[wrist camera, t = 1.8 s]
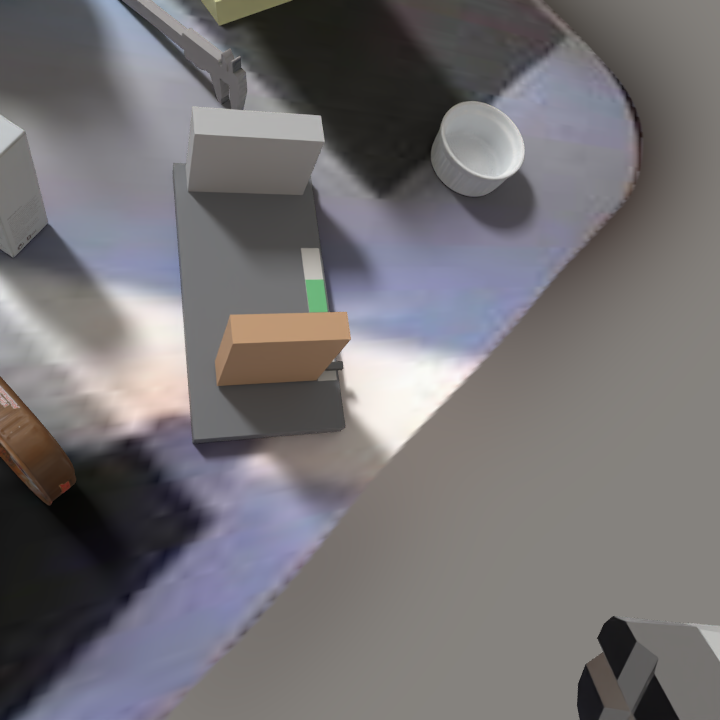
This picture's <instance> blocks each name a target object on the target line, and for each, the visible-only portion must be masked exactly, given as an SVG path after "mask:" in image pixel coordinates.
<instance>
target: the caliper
mask: <svg viewBox="0 0 720 720" xmlns="http://www.w3.org/2000/svg"><path fill="white" fill-rule="evenodd" d="M122 1H123V2H125V3H126V4H127V5H128V6H130V7H131V8H132V9H134V10H135V11H136V12H137V13H139V14H140V15H141V16H142V17H144V18H145V19H146V20H147V21H149V22H150V23H151V24H152V25H154V26H155V27H156V28H157V29H158V30H160V31H161V32H162V33H163V34H165V35H166V36H167V37H168V38H170V39H171V40H172V41H173V42H175V43H176V44H177V45H178V46H180V47H181V48H182V49H183V50H184V55H185V58H186V59H187V60H189V61H191V62H193V63H194V65H195V66H196V67H198V68H200V69H202V70H206V71H207V72H208V73H210V76H211V79H212V83H213V86H214V90H215V93H216V97H217V100H218V101H219V102H220V103H221V104H223V103H224V102H226V101H228V100H229V91H230V102H231V109H235V110H243V108H244V104H245V99H246V94H247V82H246V72H245V71H244V70H243V69H242V68H241V57H240V56H239V57H237V58H236V59H234V57H233V54H232V51H231V49H228V50H226V51H225V52H221V51H220V50H219V49H218V48H216V47H215V46H214V45H212V44H211V43H210V42H208V41H207V40H206V39H205V38H203V37H202V36H201V35H199V34H198V33H197V32H196V31H194V30H193V29H192V28H190V29H187V28H186V27H184V26H183V25H182V24H181V23H179V22H178V21H177V20H175V19H174V18H173V17H172V16H170V15H169V14H168V13H167V12H165V11H164V10H163V9H162V8H160V7H159V6H158V5H157V4H155V3H154V2H153V1H152V0H122Z"/></svg>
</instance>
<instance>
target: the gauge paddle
mask: <svg viewBox="0 0 720 720" xmlns="http://www.w3.org/2000/svg"><path fill="white" fill-rule="evenodd" d="M350 340H351V337H350V330H349V323H348V316H347V312H320V313H279V314H239V315H230V317H229V320H228V323H227V326H226V329H225V332H224V335H223V338H222V341H221V344H220V347H219V350H218V353H217V356H216V359H215V370H216V382H217V386H227V385H244V384H261V383H279V382H296V381H314V380H317V379H318V378H319V377H320V375H321V374H322V373H323V372H324V371H333V370H342V369H343V362H342V361H338V362H332V361H333V360H334V359H335V357H336V356H337V355H338V354H339V353H340V351H341V350H342V349H343V348H344V347H345V346H346V344H347V343H348V342H349V341H350Z"/></svg>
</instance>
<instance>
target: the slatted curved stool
mask: <svg viewBox="0 0 720 720" xmlns="http://www.w3.org/2000/svg"><path fill="white" fill-rule="evenodd" d="M201 1H202V2H203V4H204V5H205V7H206V8H207V9H208V11H209V12H210V13H211V15H212V16H213V17H214V19H215V20H216V22H217V23H218V24H219V26H220V25H223V24H226V23H228V22H231V21H234V20H237V19H240V18H243V17H246V16H249V15H252V14H254V13H257V12H260V11H263V10H266V9H269V8H272V7H275V6H277V5H280V4H283V3H286V2H289V1H292V0H201Z"/></svg>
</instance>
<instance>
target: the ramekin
mask: <svg viewBox="0 0 720 720" xmlns="http://www.w3.org/2000/svg"><path fill="white" fill-rule="evenodd" d="M524 155H525V148H524V142H523V139H522V136H521V134H520V132H519V130H518V128H517V127H516V125H515V124H514V123H513V122H512V120H511V119H510V118H509V117H508V116H506V115H505V114H504V113H503V112H501V111H500V110H498V109H497V108H495V107H493V106H491V105H488V104H486V103H482V102H477V101H467V102H462V103H459V104H457V105H455V106H453V107H452V108H450V109H449V110H448V111H447V113H446V114H445V116H444V117H443V120H442V122H441V126H440V130H439V132H438V134H437V136H436V138H435V140H434V143H433V145H432V149H431V162H432V166H433V168H434V170H435V172H436V174H437V176H438V177H439V178H440V180H441V181H442V182H443V183H444V184H445V185H446V186H448V187H449V188H450V189H452V190H453V191H455V192H457V193H460V194H462V195H466V196H472V197H476V196H483V195H486V194H488V193H490V192H492V191H493V190H495V189H496V188H497V187H498V186H500V185H501V184H502V183H503V182H504V181H505V180H506V179H508V178H509V177H511V176H512V175H514V174H515V173H516V172H517V171H518V170H519V168H520V167H521V165H522V163H523V160H524Z"/></svg>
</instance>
